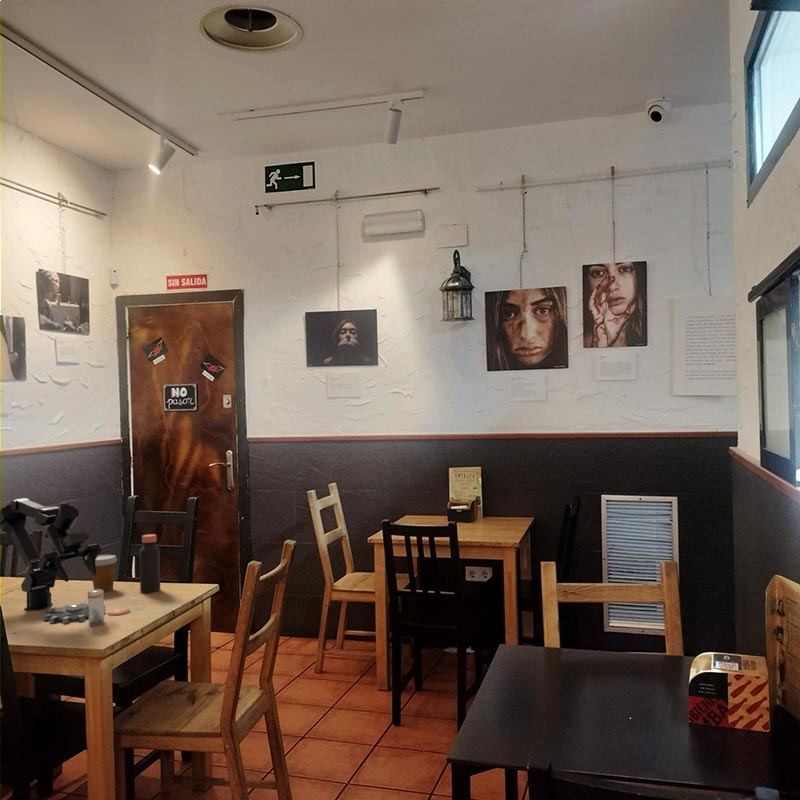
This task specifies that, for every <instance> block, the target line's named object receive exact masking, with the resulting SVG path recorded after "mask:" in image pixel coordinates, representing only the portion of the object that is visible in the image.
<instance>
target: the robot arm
mask: <svg viewBox="0 0 800 800" xmlns="http://www.w3.org/2000/svg"><path fill="white" fill-rule="evenodd" d="M79 514H80V511H79V509H77V508H76V507H74V506H72V505H69V503H68V502H65V503H61V504H60V506H54V505H53V506H45V505H42V504H39V503H37V502H34V501H32V500H30V499H29V498H25V497H24V498H17V499H16V498H15V499H13V500H11V501H10V503H9V504H7V505H6V506H4V507H2V508H1V509H0V530H1V531H2V532H3V533H6V534H8V535H9V536H10V537H11V539H12V541H13V543H14V546H15V547H16V549H17V552H18V553H19V555H20V557H21V558H22V561H23V564H24V565H25V566H26V569H25V573H24V577H25V578H24V579H23V581H22V583H21V591H22V592H25V593H26V607H24V609H23V610H24V611H44V610H45V609H47V608H49V607H51V606H52V605H53V603H52V592H51V591H50V588H54V587H55V583H56V579H57V577H58V578H59V579H61V580H62V581H64V582H65V583H68V582H69V577H68V575H67V572H66V570H65V569H64V567H63V564H62V562H63V561H70V560H75V559H80V558H81V559H82V561H83V562H84V563H83V564H84V565H85V567H86V568H87V569H88V570H89V572H90V573H91V575H92V574H93V575H94V576H95V575H96V564H95V559H96V558H97V556H99V555H100V553H101V552H102V550H103V548H102V546H101V545H100V543H92V544H87V545H86V546H85V548H84V549H83V550H80V549H81V547H82V545H81V544H83V543H86V542H87V540H89V539H90V533H89V532H88V530H87V529H83V530H82V529H81V530H80V531H79V532H75V533H70V532H69V530H70V529H72V527H73V526H74V524H75V522H76V520H77V518H78V517H79ZM28 517H30V518H33V519H34V523H35V524H36V525H38V526H39V527H47V528H46V530H45V534H44V538H45V539H48V538H49V539H50V542H51V544H52V545H53V547H52V548H51V549H52V551H50V552H45V553H43V555H42V556H41V555H40V554H39V552H38V550H37V548H36V546H35V544H34V542H33V541H32V539H31V536H30V535H29V533H28V531H27V529H26V527H25V526H26V523H27V518H28ZM79 550H80V551H79Z"/></svg>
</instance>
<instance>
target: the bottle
mask: <svg viewBox="0 0 800 800" xmlns="http://www.w3.org/2000/svg"><path fill="white" fill-rule="evenodd" d="M141 542H142V547H141V548H140V549H139V583H140V584H139V585H140V586H139V589H140V592H141V593H143V594H153V593H157V592H160V590H161V563H160V561H161V560H160V559H161V558H160V557H161V555H160V553H161V552H160V551H161V550H160V547H158V545H157V544H156V543H157V534H155V533H152V534H151V533H150V534H144V535H141Z"/></svg>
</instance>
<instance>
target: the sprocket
mask: <svg viewBox="0 0 800 800" xmlns="http://www.w3.org/2000/svg"><path fill="white" fill-rule="evenodd" d="M105 607H106V606H105V604H104V614H105V613H106V612H105V611H106V609H105ZM86 619H89V618H88V603H87V602H86V601H85V602H77V603H68V604H65V606H62V607H58V606H55V607H51V610H46V611H45V612H44V613H43V621H44V622H47V621H46V620H48V621H49V623H50V624H55V623H58V622H62V624H69V623H70V622H75V621H76V622H77V621H78V622H85V621H86Z"/></svg>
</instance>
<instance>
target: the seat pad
mask: <svg viewBox="0 0 800 800" xmlns="http://www.w3.org/2000/svg"><path fill="white" fill-rule="evenodd" d="M128 612H129V613H130V612H131V609H130V608H124V607H122V608H114V609H111V610H108V611H107V612H106V614H107V615H108V616H112V615H115V616H122V614H123V615H125V614H126V613H127V614H129V613H128Z"/></svg>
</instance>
